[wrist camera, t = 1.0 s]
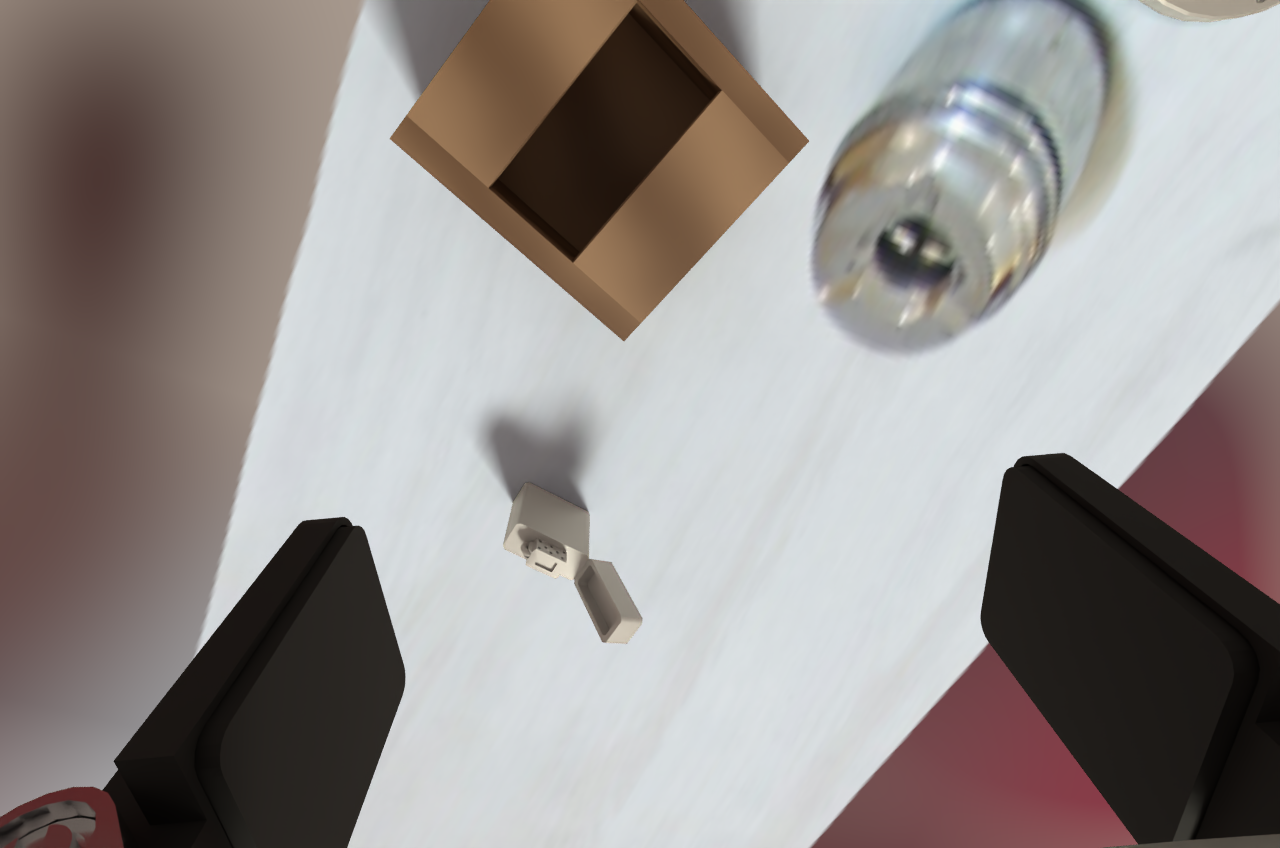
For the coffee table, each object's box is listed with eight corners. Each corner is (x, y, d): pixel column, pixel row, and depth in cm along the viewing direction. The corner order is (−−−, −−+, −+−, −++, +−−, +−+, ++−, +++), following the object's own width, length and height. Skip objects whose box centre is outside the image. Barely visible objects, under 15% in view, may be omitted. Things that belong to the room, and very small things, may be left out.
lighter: (511, 504, 37) (490, 594, 30) (526, 480, 37) (508, 566, 29) (620, 557, 39) (625, 654, 32) (635, 535, 38) (644, 629, 31)
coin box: (581, -59, 27) (576, -120, 21) (764, 140, 30) (809, 141, 24) (434, 138, 30) (389, 138, 23) (618, 301, 33) (623, 341, 27)
